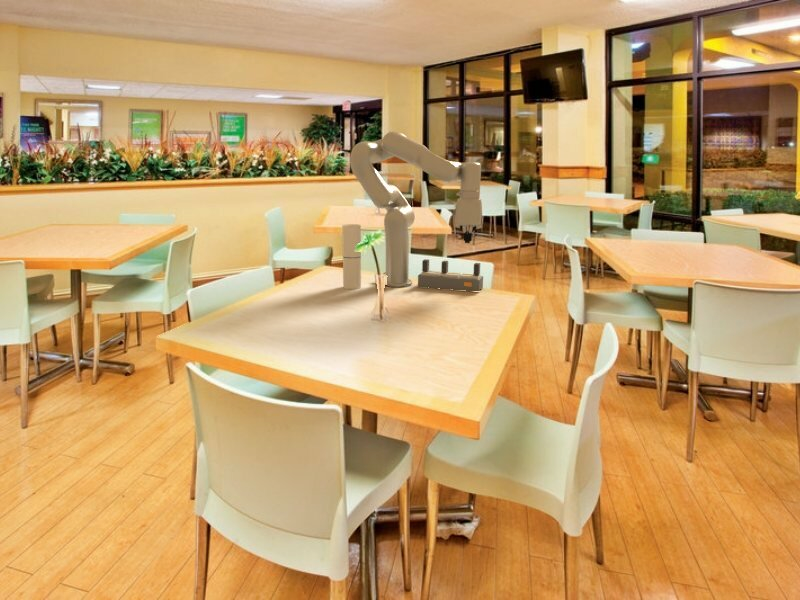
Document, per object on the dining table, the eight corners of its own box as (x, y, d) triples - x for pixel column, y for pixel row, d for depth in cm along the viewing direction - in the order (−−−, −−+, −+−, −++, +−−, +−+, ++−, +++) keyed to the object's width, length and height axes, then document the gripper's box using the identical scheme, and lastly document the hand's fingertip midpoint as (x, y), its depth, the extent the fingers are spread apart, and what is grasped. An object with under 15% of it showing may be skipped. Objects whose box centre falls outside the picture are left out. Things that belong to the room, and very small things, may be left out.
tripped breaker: (473, 275, 215) (473, 264, 214) (474, 273, 218) (475, 262, 216) (478, 275, 214) (479, 264, 213) (479, 274, 217) (480, 263, 216)
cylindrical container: (345, 289, 216) (344, 226, 210) (342, 285, 223) (340, 224, 217) (362, 288, 218) (362, 226, 212) (359, 284, 225) (358, 224, 218)
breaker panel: (417, 287, 221) (417, 272, 219) (423, 283, 228) (423, 269, 227) (478, 292, 213) (479, 277, 211) (482, 288, 221) (483, 273, 219)
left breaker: (422, 271, 221) (422, 260, 220) (424, 269, 224) (424, 259, 223) (427, 271, 221) (427, 260, 220) (429, 270, 223) (429, 259, 222)
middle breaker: (441, 272, 219) (441, 261, 218) (443, 271, 222) (443, 260, 221) (446, 273, 218) (446, 262, 217) (448, 271, 221) (448, 260, 220)
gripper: (448, 195, 208) (446, 242, 213) (487, 196, 204) (484, 245, 208) (453, 194, 215) (451, 240, 220) (490, 195, 211) (488, 242, 215)
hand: (467, 242), depth 214 cm, fingers closed
